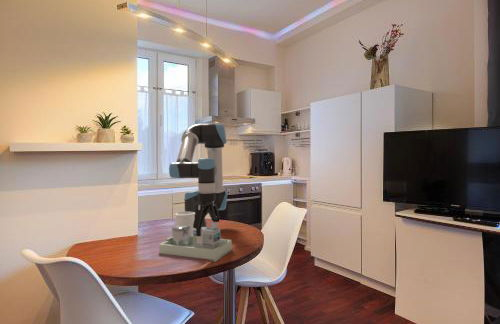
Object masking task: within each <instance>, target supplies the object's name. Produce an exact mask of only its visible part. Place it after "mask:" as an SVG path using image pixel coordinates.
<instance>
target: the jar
mask: <svg viewBox="0 0 500 324" xmlns="http://www.w3.org/2000/svg"><path fill="white" fill-rule="evenodd" d="M194 215H195V212H185V211H179V212H178V211H177V212H175V214H174V216H175V220H174V221H175V222H174V227H175V226H189V227H190V236H193V229H195V228H193V224H194V220H195V217H194Z"/></svg>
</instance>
